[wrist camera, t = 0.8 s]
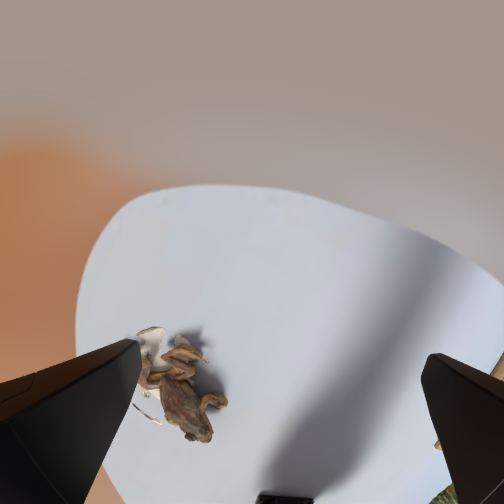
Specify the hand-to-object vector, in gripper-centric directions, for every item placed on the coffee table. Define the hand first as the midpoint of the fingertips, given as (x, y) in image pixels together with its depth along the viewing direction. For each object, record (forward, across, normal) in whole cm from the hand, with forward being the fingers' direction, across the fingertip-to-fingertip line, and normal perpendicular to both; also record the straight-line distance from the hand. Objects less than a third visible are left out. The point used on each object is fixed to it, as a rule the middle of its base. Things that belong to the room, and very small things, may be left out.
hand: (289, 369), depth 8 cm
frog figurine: (+14, +8, +12) cm, 20 cm away
